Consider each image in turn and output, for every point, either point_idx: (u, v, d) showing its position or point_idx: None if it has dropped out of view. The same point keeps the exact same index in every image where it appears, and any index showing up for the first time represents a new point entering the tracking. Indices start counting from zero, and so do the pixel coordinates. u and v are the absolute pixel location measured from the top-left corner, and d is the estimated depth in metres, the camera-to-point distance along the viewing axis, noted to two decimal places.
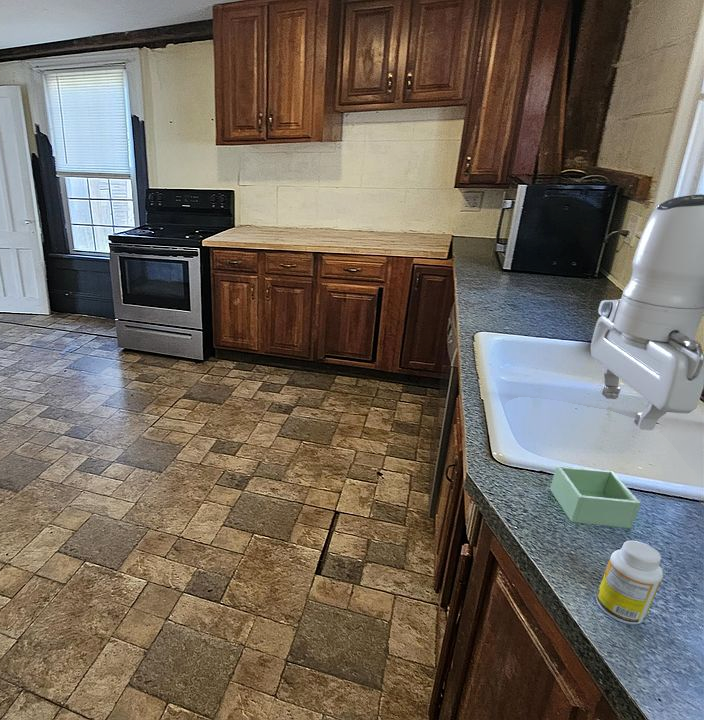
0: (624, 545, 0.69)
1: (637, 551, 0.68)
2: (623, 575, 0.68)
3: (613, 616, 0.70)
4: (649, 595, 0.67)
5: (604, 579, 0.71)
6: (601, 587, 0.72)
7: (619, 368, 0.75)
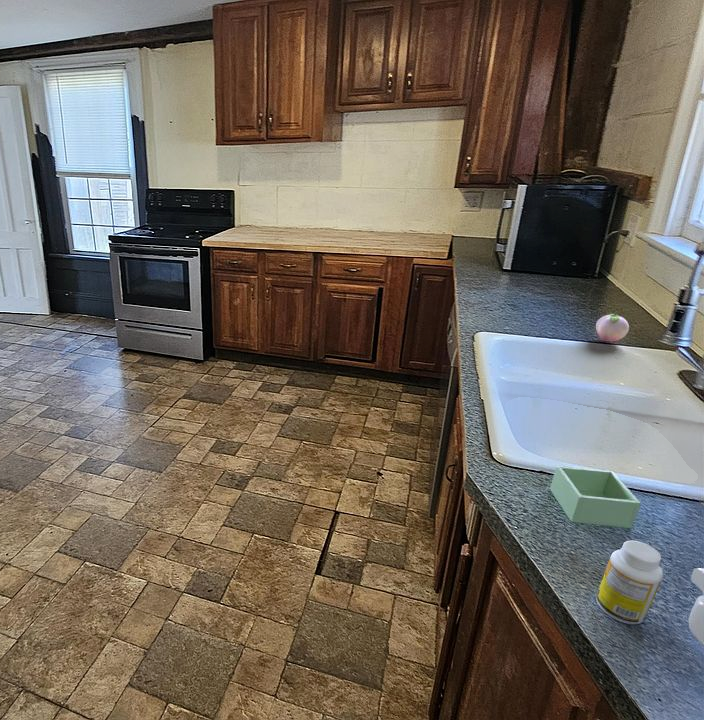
0: (624, 545, 0.69)
1: (637, 551, 0.68)
2: (623, 575, 0.68)
3: (613, 616, 0.70)
4: (649, 595, 0.67)
5: (604, 579, 0.71)
6: (601, 587, 0.72)
7: None
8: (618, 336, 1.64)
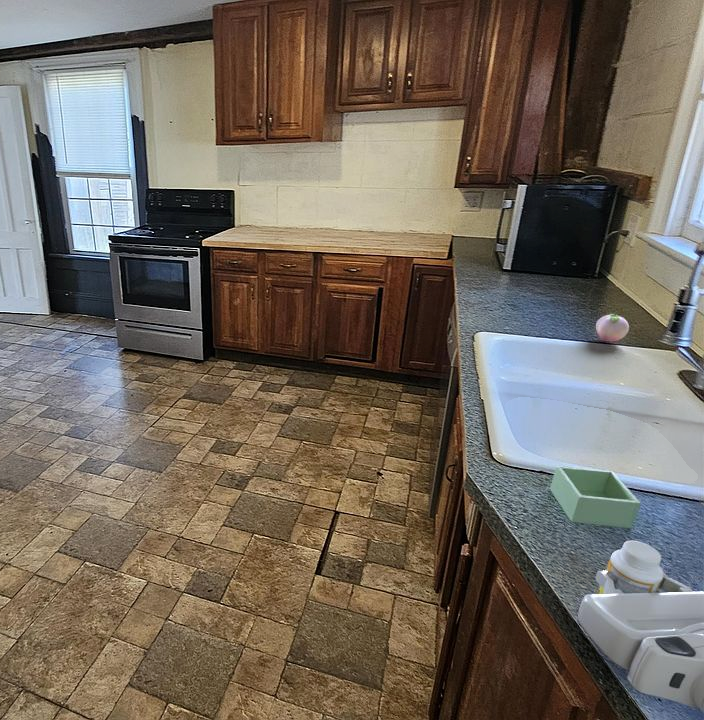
0: (624, 545, 0.69)
1: (637, 551, 0.68)
2: (623, 575, 0.68)
3: None
4: None
5: None
6: (601, 587, 0.72)
7: None
8: (618, 336, 1.64)
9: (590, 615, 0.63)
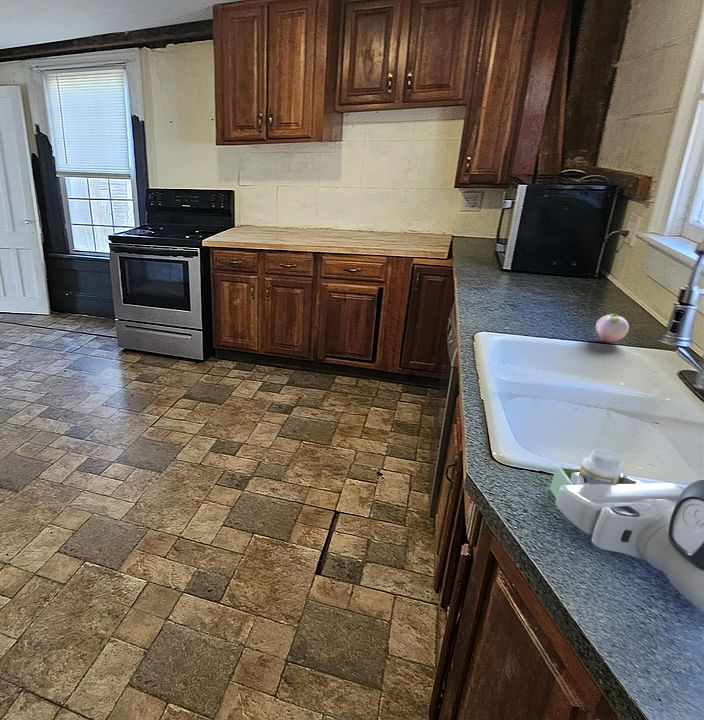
0: (592, 451, 0.88)
1: (602, 455, 0.87)
2: (591, 473, 0.87)
3: None
4: None
5: None
6: None
7: None
8: (618, 336, 1.64)
9: (564, 498, 0.83)
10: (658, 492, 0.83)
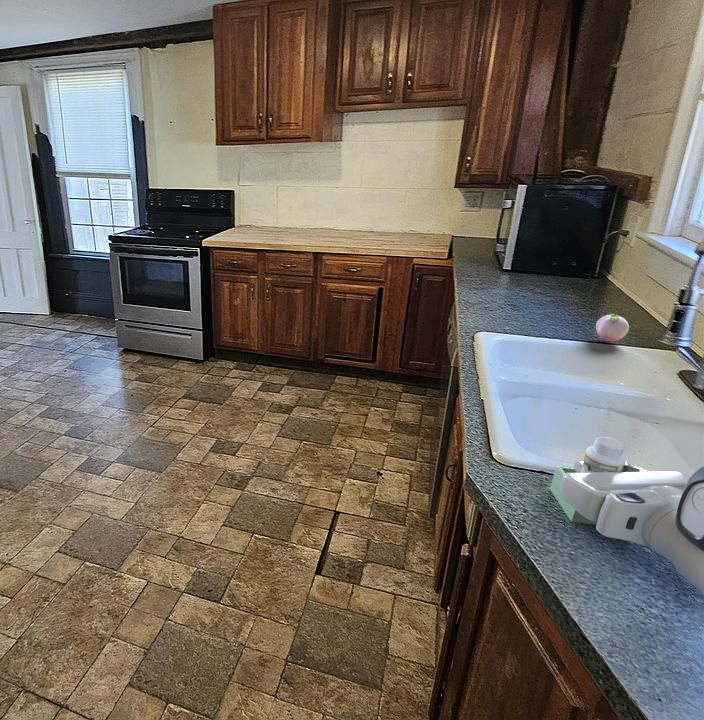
0: (596, 439, 0.88)
1: (606, 443, 0.87)
2: (595, 462, 0.87)
3: None
4: None
5: None
6: None
7: None
8: (618, 336, 1.64)
9: (568, 486, 0.82)
10: (662, 479, 0.82)
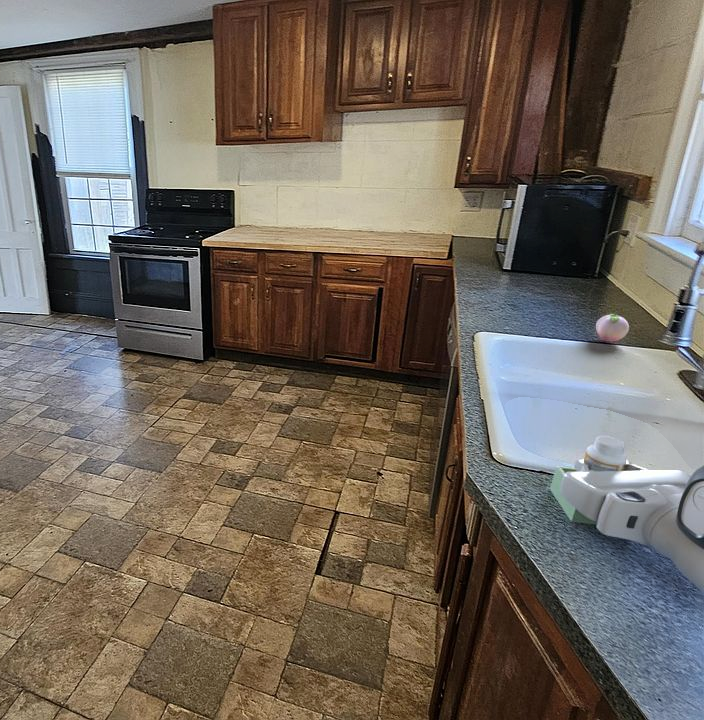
0: (597, 438, 0.88)
1: (607, 441, 0.87)
2: (596, 461, 0.87)
3: None
4: None
5: None
6: None
7: None
8: (618, 336, 1.64)
9: (568, 485, 0.82)
10: (663, 478, 0.82)
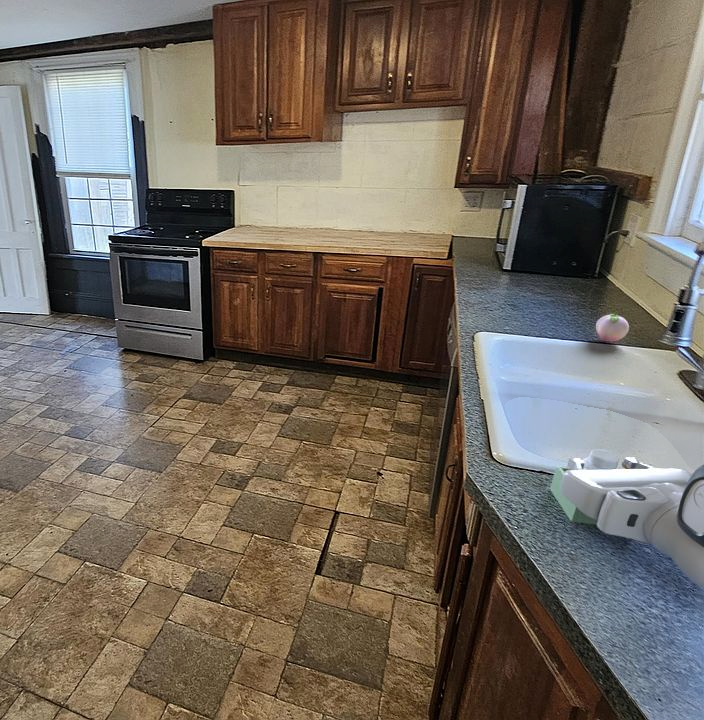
0: (591, 451, 0.89)
1: (601, 455, 0.88)
2: None
3: None
4: None
5: None
6: None
7: None
8: (618, 336, 1.64)
9: (569, 483, 0.82)
10: (664, 477, 0.82)
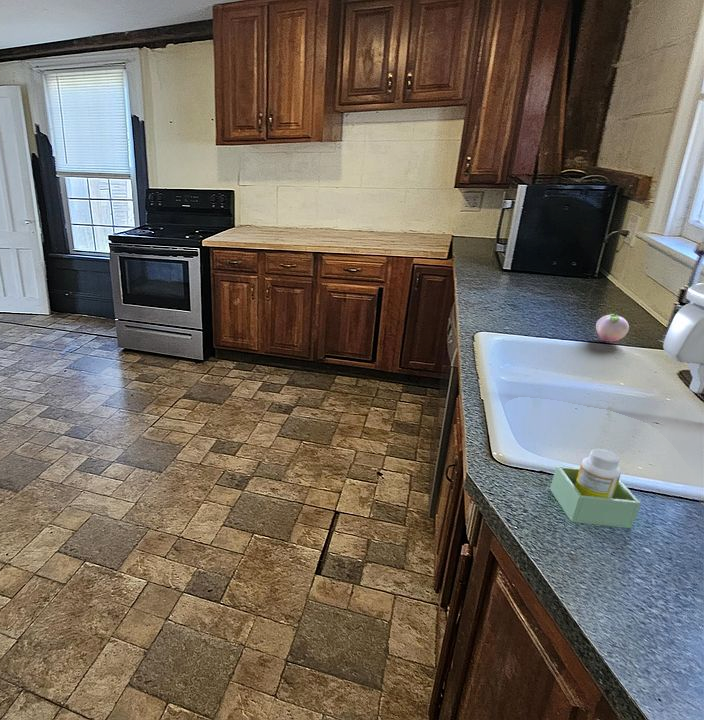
0: (591, 451, 0.89)
1: (601, 455, 0.88)
2: (591, 474, 0.88)
3: None
4: (610, 488, 0.87)
5: (577, 480, 0.91)
6: None
7: None
8: (618, 336, 1.64)
9: (670, 340, 0.71)
10: None
